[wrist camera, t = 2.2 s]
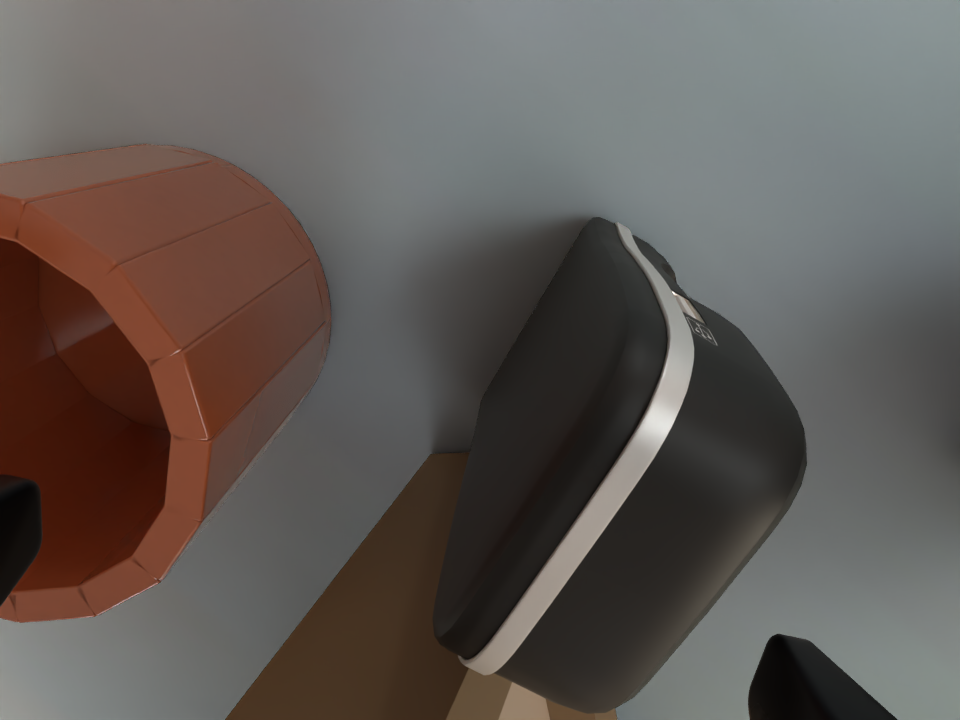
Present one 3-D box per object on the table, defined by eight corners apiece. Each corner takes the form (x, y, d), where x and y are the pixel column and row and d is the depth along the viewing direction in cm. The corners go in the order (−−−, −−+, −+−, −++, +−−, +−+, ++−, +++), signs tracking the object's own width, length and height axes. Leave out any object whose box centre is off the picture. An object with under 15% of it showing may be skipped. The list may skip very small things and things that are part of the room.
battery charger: (583, 464, 23) (611, 794, 12) (474, 406, 23) (405, 693, 12) (716, 269, 21) (895, 468, 10) (595, 201, 20) (646, 330, 10)
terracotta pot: (355, 189, 21) (233, 253, 13) (307, 474, 24) (185, 666, 16) (33, 108, 21) (-290, 121, 13) (28, 403, 24) (-231, 560, 16)
